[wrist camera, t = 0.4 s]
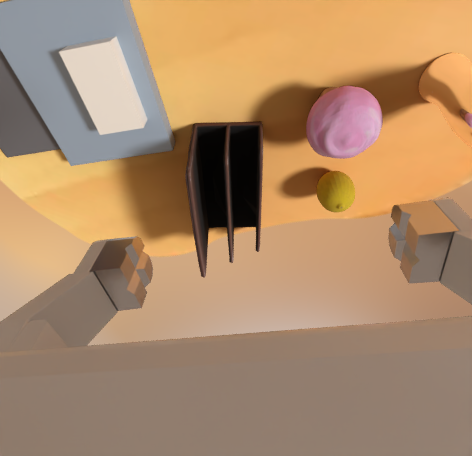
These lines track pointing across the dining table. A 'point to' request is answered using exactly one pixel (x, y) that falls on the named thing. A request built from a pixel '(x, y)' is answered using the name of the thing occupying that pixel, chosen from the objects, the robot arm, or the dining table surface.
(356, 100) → the cupcake
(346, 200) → the lemon
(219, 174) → the letter holder
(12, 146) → the mat
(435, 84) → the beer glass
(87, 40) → the panel
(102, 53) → the tile
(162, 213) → the dining table surface
